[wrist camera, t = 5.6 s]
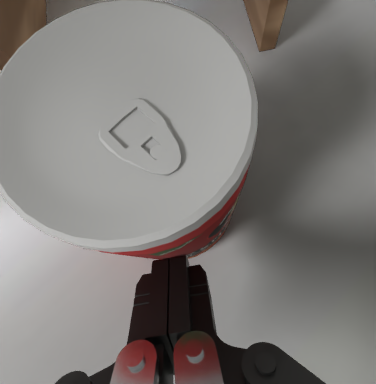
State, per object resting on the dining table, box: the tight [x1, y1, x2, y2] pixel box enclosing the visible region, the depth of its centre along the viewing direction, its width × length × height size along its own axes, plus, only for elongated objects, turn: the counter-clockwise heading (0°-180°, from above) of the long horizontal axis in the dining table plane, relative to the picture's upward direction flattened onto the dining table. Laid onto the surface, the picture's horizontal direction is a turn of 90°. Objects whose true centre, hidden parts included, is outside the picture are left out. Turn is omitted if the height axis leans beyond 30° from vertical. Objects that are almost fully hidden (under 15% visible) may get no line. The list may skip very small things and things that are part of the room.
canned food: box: [0, 0, 258, 259], centre depth 12 cm, size 8×8×11 cm
